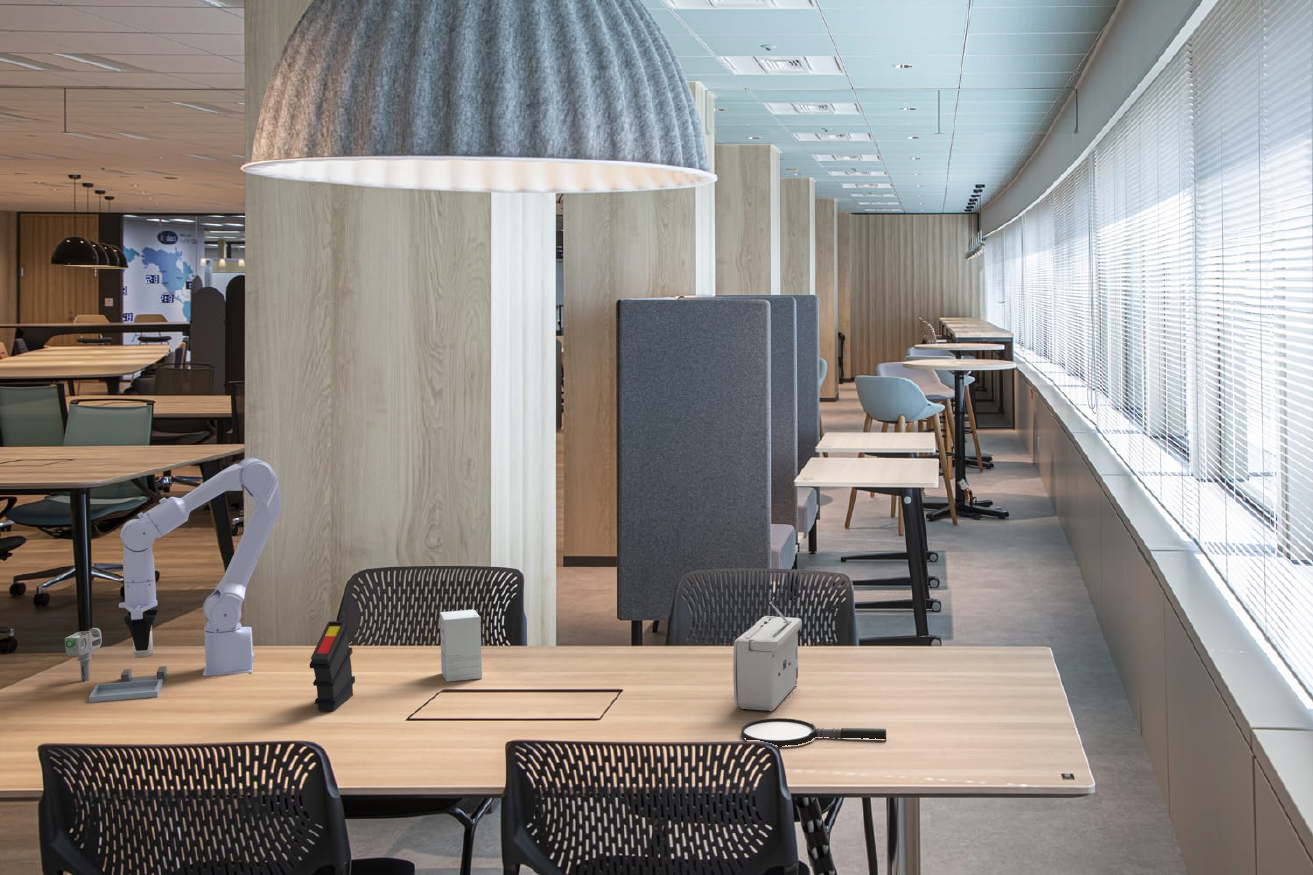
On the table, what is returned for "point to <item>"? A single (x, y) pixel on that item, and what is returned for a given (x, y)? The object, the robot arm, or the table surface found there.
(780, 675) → the stereo radio cassette player
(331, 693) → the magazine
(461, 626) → the supplement box
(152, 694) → the tray
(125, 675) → the holder
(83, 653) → the mechanical component
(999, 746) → the table surface
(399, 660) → the table surface
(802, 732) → the magnifying glass
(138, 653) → the white cylindrical jar
